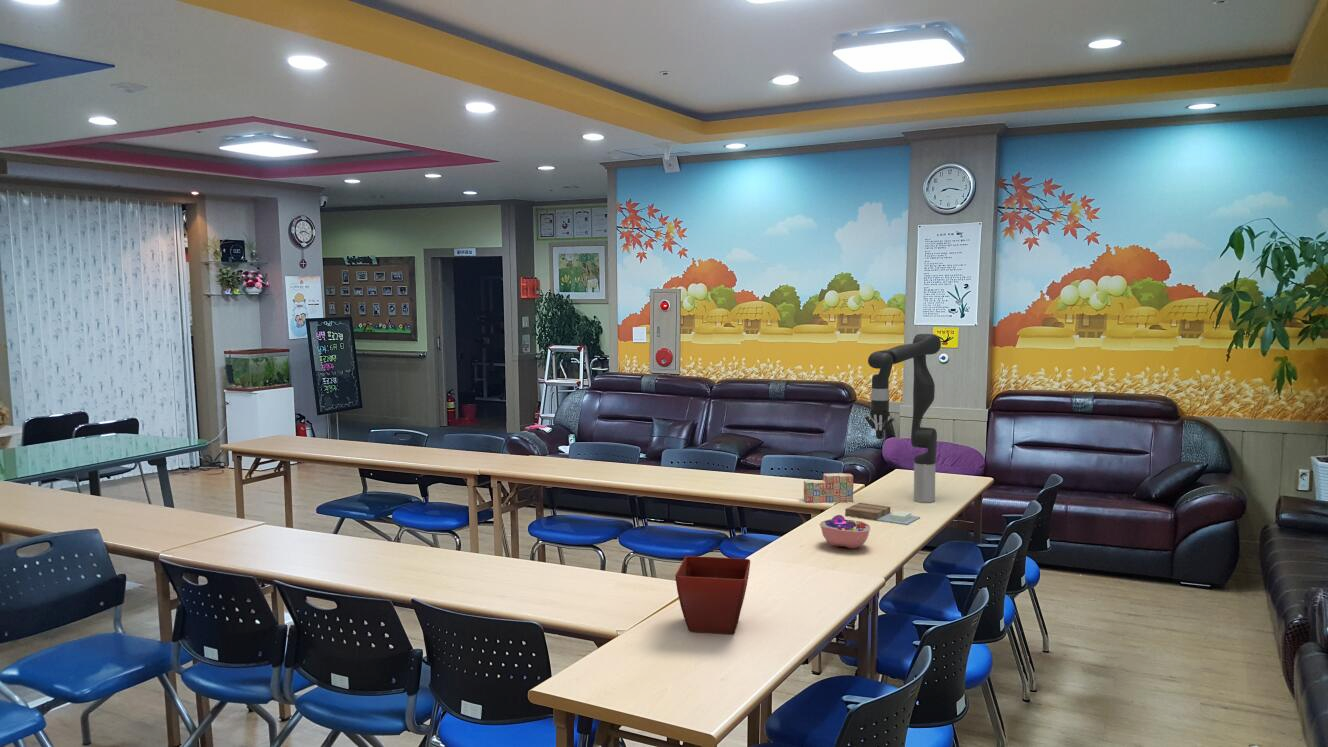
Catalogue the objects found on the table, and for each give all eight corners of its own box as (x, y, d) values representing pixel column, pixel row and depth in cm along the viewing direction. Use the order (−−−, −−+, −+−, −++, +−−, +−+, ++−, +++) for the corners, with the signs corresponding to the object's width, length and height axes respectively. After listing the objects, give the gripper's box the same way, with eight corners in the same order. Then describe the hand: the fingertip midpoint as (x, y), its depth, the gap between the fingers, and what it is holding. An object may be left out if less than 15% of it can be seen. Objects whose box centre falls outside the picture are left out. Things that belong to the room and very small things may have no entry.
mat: (890, 513, 379) (890, 512, 379) (920, 517, 371) (920, 516, 371) (876, 520, 367) (876, 519, 367) (907, 525, 360) (907, 523, 359)
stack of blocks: (805, 503, 400) (806, 476, 399) (803, 500, 406) (803, 473, 405) (853, 502, 401) (853, 475, 400) (850, 499, 407) (850, 473, 406)
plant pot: (745, 640, 239) (745, 579, 238) (674, 636, 242) (674, 575, 241) (750, 615, 258) (750, 558, 256) (685, 612, 261) (685, 555, 260)
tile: (911, 512, 370) (911, 517, 370) (897, 510, 373) (897, 515, 374) (904, 516, 363) (904, 521, 364) (890, 514, 367) (890, 519, 367)
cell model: (848, 557, 316) (848, 525, 315) (809, 544, 333) (809, 514, 332) (881, 549, 325) (882, 518, 324) (842, 537, 342) (842, 508, 341)
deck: (859, 509, 387) (859, 502, 387) (890, 513, 379) (890, 506, 378) (845, 516, 375) (845, 509, 375) (876, 520, 367) (876, 513, 367)
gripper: (898, 398, 382) (897, 439, 383) (869, 397, 389) (868, 436, 391) (891, 400, 375) (890, 441, 377) (861, 398, 383) (861, 438, 385)
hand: (879, 438), depth 384 cm, fingers closed
